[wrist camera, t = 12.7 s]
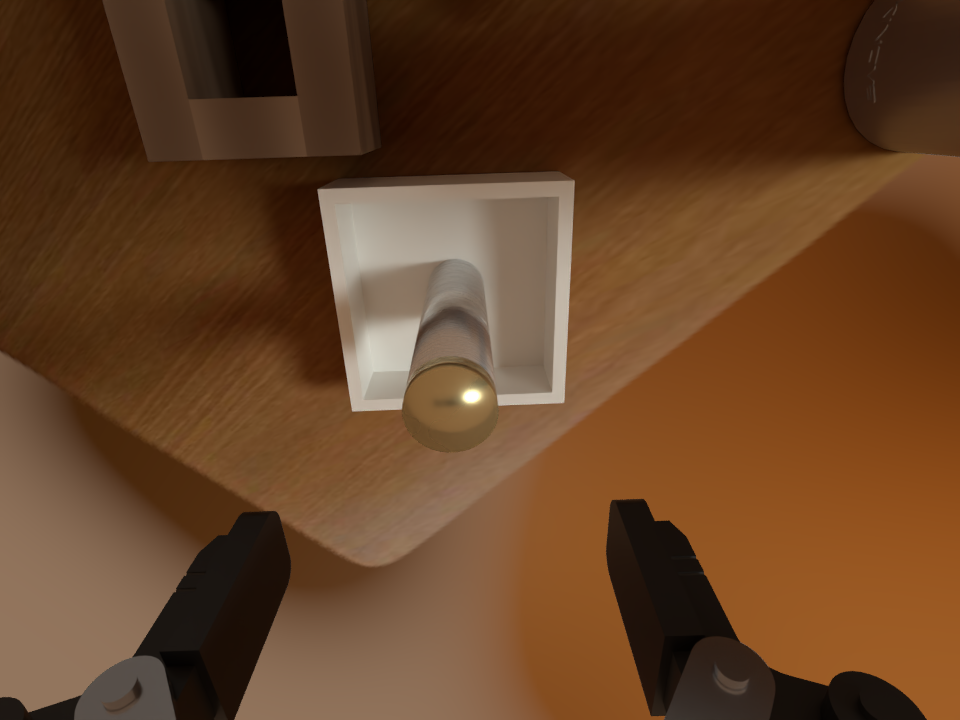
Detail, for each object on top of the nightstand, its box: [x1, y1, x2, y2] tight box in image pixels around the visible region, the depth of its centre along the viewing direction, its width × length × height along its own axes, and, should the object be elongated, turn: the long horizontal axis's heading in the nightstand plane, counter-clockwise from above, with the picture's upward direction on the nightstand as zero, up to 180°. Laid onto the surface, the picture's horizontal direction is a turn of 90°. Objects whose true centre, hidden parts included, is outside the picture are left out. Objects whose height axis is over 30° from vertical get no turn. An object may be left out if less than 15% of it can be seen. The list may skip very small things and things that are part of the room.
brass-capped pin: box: [402, 259, 499, 452], centre depth 23 cm, size 3×3×14 cm
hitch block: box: [102, 0, 382, 162], centre depth 23 cm, size 9×9×6 cm
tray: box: [317, 171, 575, 411], centre depth 29 cm, size 12×12×4 cm
